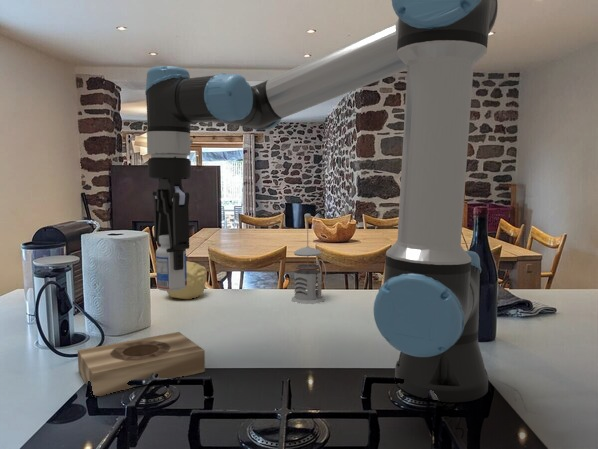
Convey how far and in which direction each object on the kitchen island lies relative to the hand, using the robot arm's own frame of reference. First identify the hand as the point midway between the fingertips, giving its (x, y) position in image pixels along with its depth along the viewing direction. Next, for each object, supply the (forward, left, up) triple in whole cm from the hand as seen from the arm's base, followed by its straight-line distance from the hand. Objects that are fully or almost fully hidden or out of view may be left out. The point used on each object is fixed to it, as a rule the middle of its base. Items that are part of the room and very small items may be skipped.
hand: (171, 283), depth 91 cm
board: (0, +6, -16) cm, 17 cm away
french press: (+26, -50, -16) cm, 58 cm away
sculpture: (+50, -22, -16) cm, 57 cm away
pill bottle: (0, 0, -1) cm, 1 cm away
